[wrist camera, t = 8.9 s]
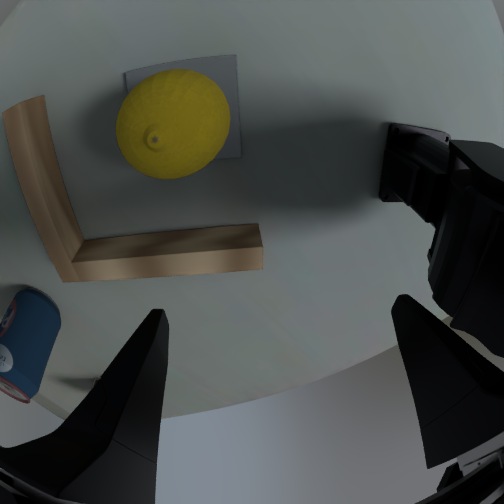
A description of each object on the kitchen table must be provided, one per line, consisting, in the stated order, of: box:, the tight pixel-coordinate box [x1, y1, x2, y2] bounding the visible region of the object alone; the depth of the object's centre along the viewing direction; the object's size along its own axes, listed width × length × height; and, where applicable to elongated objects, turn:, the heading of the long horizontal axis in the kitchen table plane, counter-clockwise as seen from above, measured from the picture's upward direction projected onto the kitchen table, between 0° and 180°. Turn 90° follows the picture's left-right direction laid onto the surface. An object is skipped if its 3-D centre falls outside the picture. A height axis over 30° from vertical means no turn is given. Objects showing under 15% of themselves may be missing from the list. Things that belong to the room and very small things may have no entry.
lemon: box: [116, 68, 231, 179], centre depth 12 cm, size 6×6×8 cm
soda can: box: [0, 288, 61, 403], centre depth 20 cm, size 7×7×12 cm
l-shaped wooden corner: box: [2, 95, 263, 282], centre depth 16 cm, size 17×15×3 cm
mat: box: [125, 55, 242, 160], centre depth 15 cm, size 7×7×1 cm
